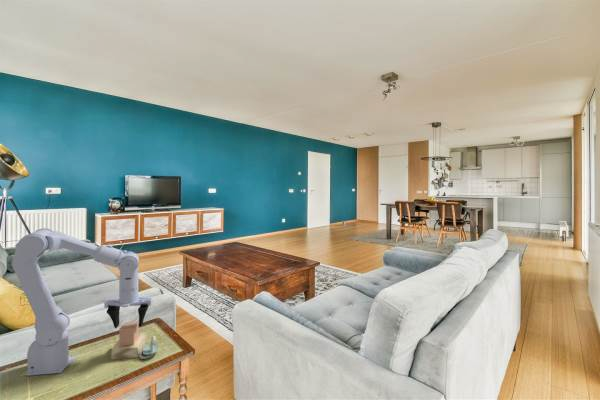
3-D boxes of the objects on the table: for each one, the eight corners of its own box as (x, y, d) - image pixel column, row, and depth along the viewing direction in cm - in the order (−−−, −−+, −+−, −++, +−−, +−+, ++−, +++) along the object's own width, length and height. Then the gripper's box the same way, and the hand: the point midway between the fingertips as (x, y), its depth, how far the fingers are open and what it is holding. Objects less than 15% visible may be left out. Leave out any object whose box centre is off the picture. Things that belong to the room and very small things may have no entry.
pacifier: (138, 362, 94) (158, 358, 97) (137, 345, 94) (157, 340, 96) (140, 350, 101) (158, 346, 104) (139, 333, 101) (158, 330, 103)
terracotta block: (119, 346, 97) (119, 329, 97) (124, 338, 101) (124, 322, 101) (133, 344, 98) (133, 328, 98) (138, 337, 102) (138, 321, 102)
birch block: (111, 359, 95) (111, 349, 95) (121, 345, 103) (121, 336, 103) (137, 357, 97) (137, 347, 97) (145, 343, 105) (145, 334, 104)
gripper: (99, 293, 93) (100, 333, 94) (148, 291, 96) (148, 330, 97) (109, 285, 100) (109, 322, 101) (154, 283, 103) (154, 320, 104)
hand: (129, 325), depth 99 cm, fingers open, 7 cm apart
